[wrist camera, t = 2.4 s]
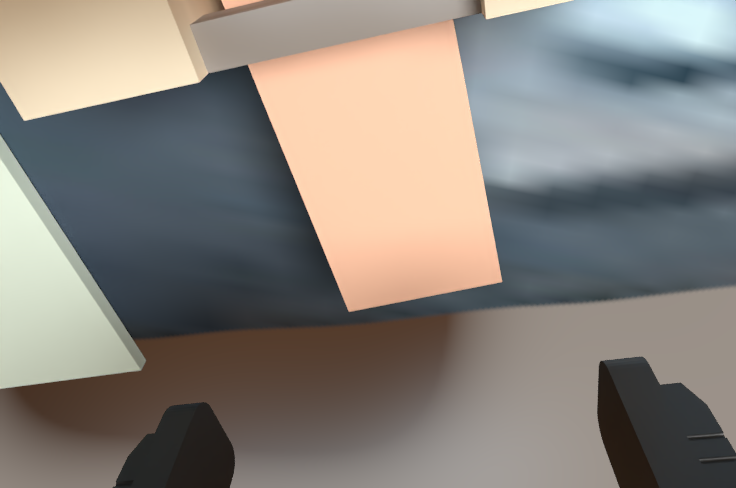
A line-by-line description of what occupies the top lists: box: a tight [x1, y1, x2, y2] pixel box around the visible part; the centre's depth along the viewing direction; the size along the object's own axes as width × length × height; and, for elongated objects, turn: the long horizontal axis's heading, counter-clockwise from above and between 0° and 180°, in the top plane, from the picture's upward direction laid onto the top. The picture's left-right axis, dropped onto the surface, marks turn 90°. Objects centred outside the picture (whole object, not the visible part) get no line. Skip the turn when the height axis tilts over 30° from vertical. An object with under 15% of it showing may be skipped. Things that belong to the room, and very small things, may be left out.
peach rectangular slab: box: [221, 0, 502, 312], centre depth 15 cm, size 13×5×4 cm, turn 16°
